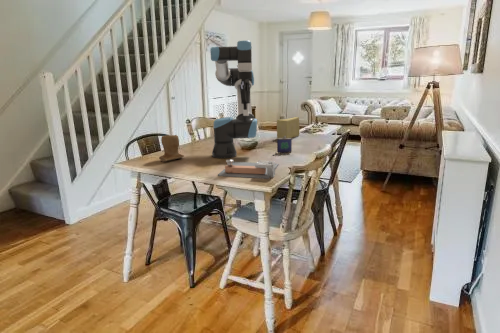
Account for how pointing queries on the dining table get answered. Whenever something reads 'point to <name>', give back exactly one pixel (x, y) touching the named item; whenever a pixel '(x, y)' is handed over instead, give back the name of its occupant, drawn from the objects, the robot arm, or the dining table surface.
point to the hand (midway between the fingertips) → (246, 115)
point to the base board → (245, 173)
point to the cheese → (288, 127)
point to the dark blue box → (284, 145)
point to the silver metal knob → (229, 162)
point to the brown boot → (170, 148)
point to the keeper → (269, 165)
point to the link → (244, 169)
